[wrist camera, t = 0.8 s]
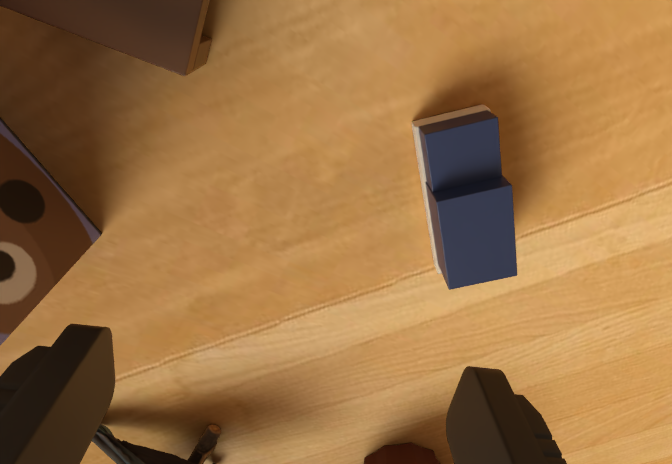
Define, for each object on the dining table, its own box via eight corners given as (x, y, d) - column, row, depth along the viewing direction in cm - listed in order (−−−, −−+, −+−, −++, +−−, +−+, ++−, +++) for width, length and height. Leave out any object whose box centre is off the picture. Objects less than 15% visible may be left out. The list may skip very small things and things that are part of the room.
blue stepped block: (411, 121, 31) (425, 142, 27) (483, 103, 31) (510, 122, 26) (433, 264, 37) (449, 301, 32) (495, 251, 36) (519, 287, 32)
